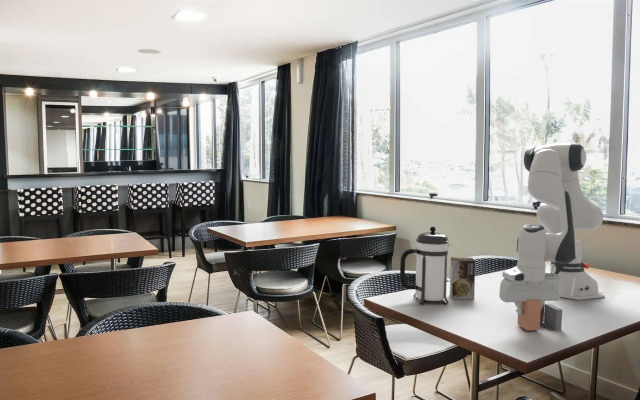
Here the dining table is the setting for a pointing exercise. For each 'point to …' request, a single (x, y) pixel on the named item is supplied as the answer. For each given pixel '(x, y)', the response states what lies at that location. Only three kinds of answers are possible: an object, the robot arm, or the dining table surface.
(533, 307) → the doorstop block
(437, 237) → the coffee press
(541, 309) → the sliding door
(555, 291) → the robot arm
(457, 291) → the cookie box
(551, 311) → the door wall
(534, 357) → the dining table surface
